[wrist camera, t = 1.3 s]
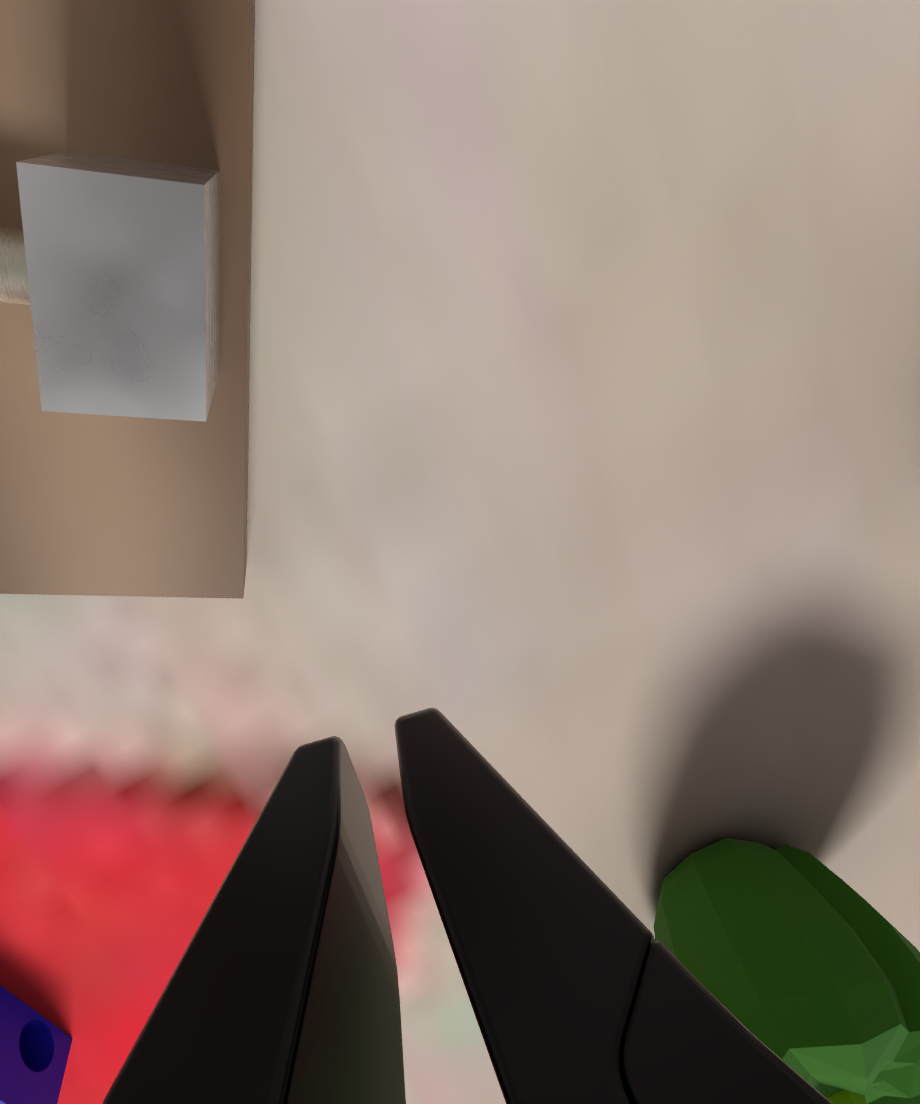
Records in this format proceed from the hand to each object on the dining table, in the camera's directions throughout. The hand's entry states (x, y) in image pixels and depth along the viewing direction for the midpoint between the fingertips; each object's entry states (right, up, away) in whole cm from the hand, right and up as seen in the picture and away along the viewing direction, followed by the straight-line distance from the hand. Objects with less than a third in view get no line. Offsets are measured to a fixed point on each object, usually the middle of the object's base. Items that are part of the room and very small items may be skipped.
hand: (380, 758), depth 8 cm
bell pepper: (+10, -10, +21) cm, 26 cm away
